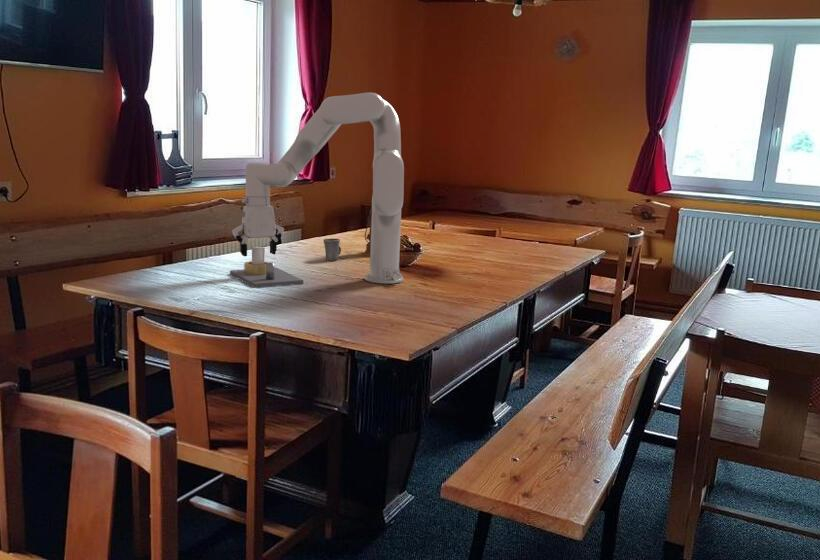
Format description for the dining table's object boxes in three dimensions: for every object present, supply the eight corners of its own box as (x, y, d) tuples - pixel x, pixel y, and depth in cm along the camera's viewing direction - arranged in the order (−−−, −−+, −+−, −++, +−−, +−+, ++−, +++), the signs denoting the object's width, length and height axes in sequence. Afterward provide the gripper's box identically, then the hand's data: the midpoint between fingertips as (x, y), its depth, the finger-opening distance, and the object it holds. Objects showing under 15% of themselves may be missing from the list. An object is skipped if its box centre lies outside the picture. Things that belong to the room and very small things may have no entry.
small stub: (275, 279, 232) (275, 263, 231) (267, 280, 231) (268, 264, 230) (272, 277, 234) (272, 262, 233) (264, 278, 233) (264, 262, 232)
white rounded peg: (266, 273, 241) (266, 248, 239) (254, 273, 239) (255, 249, 237) (260, 270, 244) (261, 246, 243) (249, 271, 242) (250, 247, 240)
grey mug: (344, 257, 284) (345, 236, 283) (336, 262, 272) (337, 241, 270) (328, 256, 285) (329, 235, 284) (320, 261, 273) (320, 240, 271)
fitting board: (303, 283, 234) (303, 280, 233) (254, 287, 225) (254, 283, 225) (276, 270, 252) (276, 267, 251) (230, 274, 243) (230, 270, 243)
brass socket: (273, 273, 240) (273, 264, 240) (249, 275, 236) (249, 266, 236) (264, 269, 247) (264, 260, 246) (241, 270, 243) (241, 261, 242)
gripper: (235, 203, 229) (236, 258, 233) (288, 202, 239) (288, 254, 242) (227, 201, 236) (228, 254, 239) (278, 199, 245) (279, 251, 248)
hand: (258, 254), depth 240 cm, fingers open, 9 cm apart
